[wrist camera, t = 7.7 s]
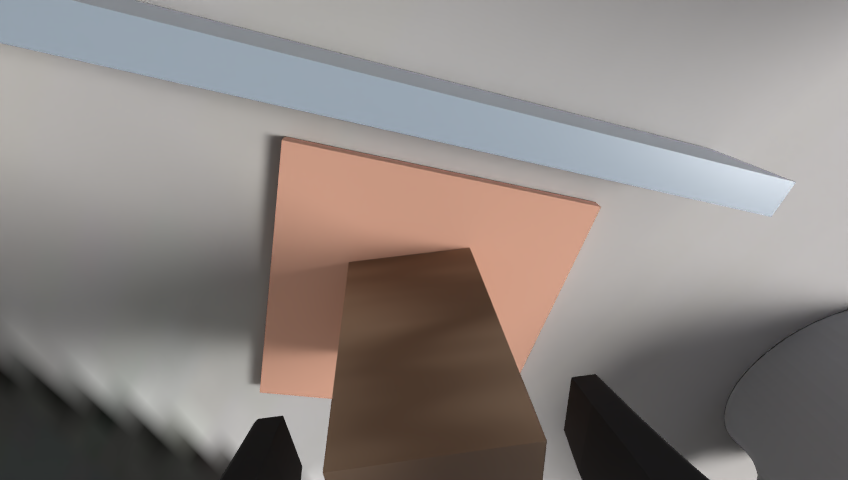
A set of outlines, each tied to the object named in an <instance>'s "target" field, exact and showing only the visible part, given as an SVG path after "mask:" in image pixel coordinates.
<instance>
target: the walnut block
mask: <svg viewBox="0 0 848 480" xmlns="http://www.w3.org/2000/svg"><path fill="white" fill-rule="evenodd" d="M546 444H547V440H546V437H545V435H544V432H543V430H542V427H541V425H540V422H539V420H538V417H537V415H536V412H535V410H534V407H533V405H532V402H531V400H530V397H529V395H528V392H527V390H526V387H525V385H524V382H523V380H522V377H521V375H520V372H519V370H518V367H517V365H516V362H515V360H514V357H513V355H512V352H511V350H510V347H509V345H508V342H507V340H506V337H505V335H504V332H503V329H502V327H501V324H500V322H499V319H498V317H497V314H496V312H495V309H494V307H493V304H492V302H491V299H490V297H489V294H488V292H487V289H486V287H485V284H484V282H483V279H482V277H481V274H480V272H479V269H478V267H477V264H476V262H475V259H474V257H473V254H472V252H471V249H470V248H462V249H453V250H445V251H437V252H428V253H420V254H411V255H403V256H395V257H386V258H378V259H370V260H361V261H353V262H349V265H348V273H347V281H346V289H345V297H344V305H343V313H342V321H341V329H340V337H339V346H338V354H337V362H336V370H335V378H334V386H333V394H332V402H331V410H330V418H329V427H328V435H327V443H326V451H325V459H324V467H323V475H324V478H325V480H543V471H544V462H545V453H546Z"/></svg>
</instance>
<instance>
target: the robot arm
mask: <svg viewBox="0 0 848 480" xmlns="http://www.w3.org/2000/svg"><path fill="white" fill-rule="evenodd" d="M564 431H565V434H566V437H567V440H568V443H569V446H570V449H571V451H572V454H573V457H574V460H575V463H576V465H577V468H578V471H579V473H580V476H581V478H582V480H709V479H708V478H707V477H706V476H704V475H703V474H702V473H701V472H700V471H699V470H697V469H696V468H695V467H694V466H693V465H692V464H691V463H689V462H688V461H687V460H686V459H685V458H684V457H683V456H681V455H680V454H679V453H678V452H677V451H676V450H675V449H674V448H673V447H672V446H670V445H669V444H668V443H667V442H666V441H665V440H664V439H663V438H662V437H660V436H659V435H658V434H657V433H656V432H655V431H654V430H653V429H652V428H651V427H650V426H649V425H648V424H647V423H645V422H644V421H643V420H642V419H641V418H640V417H639V416H638V415H637V414H636V413H635V412H634V411H633V410H632V409H631V408H630V407H629V406H628V405H627V404H626V403H625V402H624V401H623V400H622V399H621V398H620V397H619V396H617V395H616V394H615V393H614V392H613V391H612V390H611V389H610V388H609V387H608V386H607V385H606V384H605V383H604V382H603V381H602V380H601V379H600V378H599V377H598V376H597V375H596V374H593V375H586V376H578V377H572V378H571V385H570V392H569V399H568V406H567V413H566V420H565V427H564ZM301 472H302V465H301V462H300V459H299V457H298V454H297V451H296V449H295V446H294V444H293V441H292V438H291V436H290V433H289V430H288V428H287V425H286V422H285V420H284V417H283V416H277V417H269V418H262V419H257V420H256V422H255V423H254V424H253V426H252V428H251V429H250V431H249V433H248V434H247V436H246V438H245V439H244V441H243V443H242V444H241V446H240V448H239V449H238V451H237V452H236V454H235V456H234V457H233V459H232V461H231V462H230V464H229V465H228V467H227V469H226V470H225V472H224V473H223V475H222V477H221V478H220V480H301Z"/></svg>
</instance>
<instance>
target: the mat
mask: <svg viewBox="0 0 848 480" xmlns="http://www.w3.org/2000/svg"><path fill="white" fill-rule="evenodd" d="M600 208H601V207H600V206H599V205H598V204H597V203H596V202H592V201H588V200H583V199H578V198H573V197H569V196H564V195H559V194H554V193H550V192H545V191H540V190H536V189H531V188H526V187H521V186H517V185H512V184H507V183H502V182H498V181H493V180H488V179H484V178H479V177H474V176H469V175H465V174H460V173H455V172H450V171H446V170H441V169H436V168H432V167H427V166H422V165H417V164H413V163H408V162H403V161H398V160H394V159H389V158H384V157H380V156H375V155H370V154H365V153H361V152H356V151H351V150H346V149H342V148H337V147H332V146H328V145H323V144H318V143H313V142H309V141H304V140H299V139H295V138H290V137H284V138H283V139H282V144H281V155H280V167H279V178H278V190H277V201H276V212H275V224H274V235H273V247H272V258H271V270H270V281H269V293H268V304H267V316H266V327H265V339H264V350H263V362H262V373H261V385H260V392H261V393H272V394H284V395H295V396H306V397H318V398H329V399H332V394H333V386H334V378H335V370H336V362H337V354H338V346H339V337H340V329H341V321H342V313H343V305H344V297H345V289H346V281H347V273H348V265H349V262H353V261H361V260H370V259H378V258H386V257H395V256H403V255H411V254H420V253H428V252H437V251H445V250H453V249H462V248H470V249H471V252H472V254H473V257H474V259H475V262H476V264H477V267H478V269H479V272H480V274H481V277H482V279H483V282H484V284H485V287H486V289H487V292H488V294H489V297H490V299H491V302H492V304H493V307H494V309H495V312H496V314H497V317H498V319H499V322H500V324H501V327H502V329H503V332H504V335H505V337H506V340H507V342H508V345H509V347H510V350H511V352H512V355H513V357H514V360H515V362H516V365H517V367H518V370H519V372H521V370H522V368H523V366H524V364H525V362H526V360H527V358H528V356H529V354H530V352H531V350H532V348H533V346H534V344H535V342H536V339H537V337H538V335H539V333H540V331H541V329H542V327H543V325H544V323H545V321H546V319H547V317H548V315H549V313H550V311H551V309H552V307H553V305H554V303H555V300H556V298H557V296H558V294H559V292H560V290H561V288H562V286H563V284H564V282H565V280H566V278H567V276H568V274H569V272H570V270H571V268H572V266H573V263H574V261H575V259H576V257H577V255H578V253H579V251H580V249H581V247H582V245H583V243H584V241H585V239H586V237H587V235H588V233H589V231H590V229H591V227H592V224H593V222H594V220H595V218H596V216H597V214H598V212H599V210H600Z"/></svg>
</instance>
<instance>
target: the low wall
mask: <svg viewBox="0 0 848 480" xmlns="http://www.w3.org/2000/svg"><path fill="white" fill-rule="evenodd" d="M0 43H3V44H8V45H12V46H16V47H21V48H25V49H30V50H34V51H39V52H43V53H47V54H52V55H56V56H61V57H65V58H70V59H74V60H78V61H83V62H87V63H92V64H96V65H101V66H105V67H109V68H114V69H118V70H123V71H127V72H132V73H136V74H140V75H145V76H149V77H154V78H158V79H163V80H167V81H171V82H176V83H180V84H185V85H189V86H194V87H198V88H203V89H207V90H211V91H216V92H220V93H225V94H229V95H234V96H238V97H242V98H247V99H251V100H256V101H260V102H265V103H269V104H273V105H278V106H282V107H287V108H291V109H296V110H300V111H304V112H309V113H313V114H318V115H322V116H327V117H331V118H335V119H340V120H344V121H349V122H353V123H358V124H362V125H366V126H371V127H375V128H380V129H384V130H389V131H393V132H397V133H402V134H406V135H411V136H415V137H420V138H424V139H428V140H433V141H437V142H442V143H446V144H451V145H455V146H460V147H464V148H468V149H473V150H477V151H482V152H486V153H491V154H495V155H499V156H504V157H508V158H513V159H517V160H522V161H526V162H530V163H535V164H539V165H544V166H548V167H553V168H557V169H561V170H566V171H570V172H575V173H579V174H584V175H588V176H592V177H597V178H601V179H606V180H610V181H615V182H619V183H623V184H628V185H632V186H637V187H641V188H646V189H650V190H654V191H659V192H663V193H668V194H672V195H677V196H681V197H685V198H690V199H694V200H699V201H703V202H708V203H712V204H716V205H721V206H725V207H730V208H734V209H739V210H743V211H748V212H752V213H756V214H761V215H765V216H770V217H772V215H773V214H774V212H775V211H776V209H777V208H778V207H779V205H780V204H781V202H782V201H783V200H784V198H785V197H786V195H787V194H788V192H789V191H790V190H791V188H792V187H793V185H794V184H795V182H794V181H792V180H789V179H786V178H784V177H781V176H779V175H776V174H774V173H771V172H769V171H766V170H763V169H761V168H758V167H756V166H753V165H751V164H748V163H746V162H743V161H740V160H738V159H735V158H733V157H730V156H728V155H725V154H723V153H720V152H718V151H715V150H712V149H709V148H705V147H701V146H697V145H694V144H690V143H686V142H682V141H678V140H674V139H670V138H667V137H663V136H659V135H655V134H651V133H647V132H643V131H639V130H636V129H632V128H628V127H624V126H620V125H616V124H612V123H608V122H605V121H601V120H597V119H593V118H589V117H585V116H581V115H578V114H574V113H570V112H566V111H562V110H558V109H554V108H550V107H547V106H543V105H539V104H535V103H531V102H527V101H523V100H519V99H516V98H512V97H508V96H504V95H500V94H496V93H492V92H489V91H485V90H481V89H477V88H473V87H469V86H465V85H461V84H458V83H454V82H450V81H446V80H442V79H438V78H434V77H430V76H427V75H423V74H419V73H415V72H411V71H407V70H403V69H400V68H396V67H392V66H388V65H384V64H380V63H376V62H372V61H369V60H365V59H361V58H357V57H353V56H349V55H345V54H341V53H338V52H334V51H330V50H326V49H322V48H318V47H314V46H311V45H307V44H303V43H299V42H295V41H291V40H287V39H283V38H280V37H276V36H272V35H268V34H264V33H260V32H256V31H252V30H249V29H245V28H241V27H237V26H233V25H229V24H225V23H221V22H218V21H214V20H210V19H206V18H202V17H198V16H194V15H191V14H187V13H183V12H179V11H175V10H171V9H167V8H163V7H160V6H156V5H152V4H148V3H144V2H140V1H136V0H0Z"/></svg>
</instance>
